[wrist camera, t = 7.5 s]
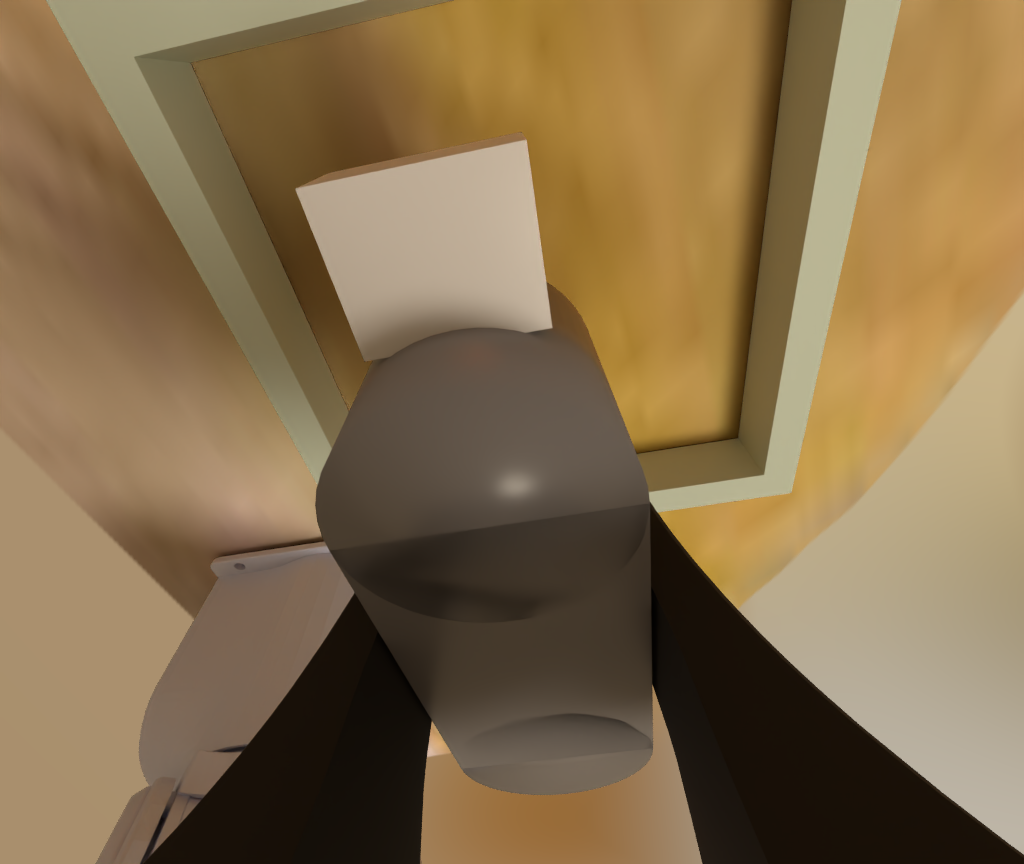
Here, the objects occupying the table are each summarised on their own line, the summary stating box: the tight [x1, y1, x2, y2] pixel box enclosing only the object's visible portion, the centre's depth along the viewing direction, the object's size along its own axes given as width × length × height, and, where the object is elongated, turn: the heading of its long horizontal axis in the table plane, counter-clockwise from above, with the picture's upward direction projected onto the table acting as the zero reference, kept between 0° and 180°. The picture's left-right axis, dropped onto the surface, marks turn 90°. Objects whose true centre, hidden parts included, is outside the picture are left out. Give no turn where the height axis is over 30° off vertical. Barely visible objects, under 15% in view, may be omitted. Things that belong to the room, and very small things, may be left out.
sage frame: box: [46, 0, 901, 512], centre depth 15 cm, size 18×18×2 cm
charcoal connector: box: [295, 132, 653, 795], centre depth 9 cm, size 4×13×4 cm, turn 10°
